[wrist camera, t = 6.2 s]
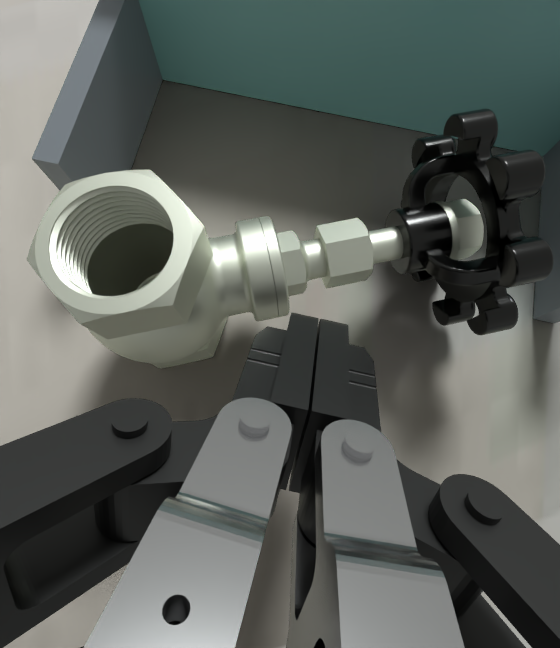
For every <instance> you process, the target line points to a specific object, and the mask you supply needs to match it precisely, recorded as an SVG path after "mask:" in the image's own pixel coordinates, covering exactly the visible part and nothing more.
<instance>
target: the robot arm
mask: <svg viewBox="0 0 560 648" xmlns="http://www.w3.org/2000/svg"><path fill="white" fill-rule="evenodd" d="M291 470H292V471H291ZM290 473H291V478H290V485H289V491H293V492H297V493H300V497H299V506H298V511H297V514H296V518H295V521H294V524H293V533H292V560H291V586H290V613H289V630H288V638H287V644H286V648H526V647H525V646H524V645H523V644H522V643H521V641H520V640H519V639H518V638H517V637H516V635H515V634H514V633H513V632H512V631H511V630H510V629H509V627H508V626H507V625H506V624H505V622H504V621H503V620H502V619H501V618H500V617H499V615H498V614H497V613H496V612H495V611H494V610H493V609H492V607H491V606H490V605H489V604H488V603H487V601H486V600H485V599H484V598H483V597H482V596H481V592H483V591H484V592H485V593H486V595H487V596H488V597H489V598H490V599H491V600H492V601H493V603H494V604H495V605H496V606H497V607H498V609H499V610H500V611H501V612H502V613H503V614H504V615H505V617H506V618H507V619H508V620H509V621H510V623H511V624H512V625H513V626H514V627H515V628H516V629H517V631H518V632H519V633H520V634H521V635H522V636H523V638H524V639H525V640H526V641H527V642H528V643H529V645H530V646H531V647H532V648H560V545H559V544H558V543H557V542H556V541H555V540H554V539H553V538H552V537H551V536H550V535H549V534H548V533H546V532H545V531H544V530H543V529H542V528H541V527H540V526H539V525H538V524H537V523H536V522H535V521H534V520H532V519H531V518H530V517H529V516H528V515H527V514H526V513H525V512H524V511H523V510H522V509H521V508H519V507H518V506H517V505H516V504H515V503H514V502H513V501H512V500H511V499H510V498H509V497H508V496H507V495H505V494H504V493H503V492H502V491H501V490H499V489H498V488H497V487H495V486H494V485H492V484H490V483H489V482H487V481H485V480H483V479H480V478H478V477H475V476H471V475H466V474H457V475H452V476H449V477H448V478H446V479H445V480H444V481H443V483H442V484H441V485H440V484H438V483H436V482H434V481H432V480H430V479H428V478H426V477H424V476H422V475H420V474H418V473H416V472H414V471H412V470H410V469H409V468H407V467H406V466H404V465H403V464H402V463H400V462H399V461H398V460H397V459H396V456H395V452H394V449H393V447H392V445H391V443H390V442H389V440H388V439H387V438H386V437H385V436H384V435H383V434H382V433H381V426H380V417H379V408H378V398H377V389H376V379H375V370H374V361H373V360H372V358H371V357H370V355H369V354H368V352H367V351H366V350H365V348H363V347H359V346H354V345H350V344H349V336H348V325H347V324H342V323H337V322H333V321H328V320H324V319H320V321H319V325H318V318H314V317H310V316H305V315H301V314H296V313H292V312H291V316H290V321H289V325H288V329H287V331H286V330H282V329H277V328H273V327H268V326H267V327H266V328H265V329H263V330H262V331H261V332H259V333H258V334H257V335H256V336H255V339H254V341H253V344H252V347H251V350H250V353H249V355H248V359H247V361H246V364H245V367H244V369H243V372H242V375H241V378H240V380H239V383H238V386H237V389H236V392H235V394H234V397H233V400H232V402H230V403H228V404H227V405H225V406H224V407H223V408H222V409H221V411H220V412H219V414H218V415H216V416H214V417H212V418H209V419H205V420H200V421H180V422H172V420H171V417H170V415H169V413H168V412H167V410H166V409H164V408H163V407H162V406H161V405H159V404H157V403H155V402H153V401H150V400H146V399H137V398H131V399H123V400H118V401H115V402H112V403H109V404H107V405H104V406H102V407H99V408H97V409H94V410H92V411H89V412H86V413H84V414H81V415H79V416H76V417H74V418H71V419H69V420H66V421H63V422H61V423H58V424H56V425H53V426H51V427H48V428H45V429H43V430H40V431H38V432H35V433H33V434H30V435H28V436H25V437H22V438H20V439H17V440H15V441H12V442H10V443H7V444H4V445H2V446H0V648H3V647H4V646H6V645H7V644H9V643H10V642H12V641H13V640H15V639H16V638H18V637H19V636H21V635H22V634H24V633H25V632H27V631H28V630H30V629H31V628H33V627H34V626H36V625H37V624H39V623H40V622H42V621H43V620H45V619H46V618H48V617H49V616H50V615H52V614H53V613H55V612H56V611H58V610H59V609H61V608H62V607H64V606H65V605H67V604H68V603H70V602H71V601H73V600H74V599H76V598H77V597H79V596H80V595H82V594H83V593H85V592H86V591H88V590H89V589H91V588H92V587H94V586H95V585H97V584H98V583H100V582H101V581H103V580H104V579H106V578H107V577H108V576H110V575H111V574H113V573H114V572H116V571H117V570H119V569H120V568H122V567H123V566H125V565H126V564H128V563H129V564H128V566H127V568H126V570H125V572H124V573H123V575H122V577H121V579H120V581H119V583H118V585H117V586H116V588H115V590H114V592H113V594H112V596H111V598H110V600H109V601H108V603H107V605H106V607H105V609H104V611H103V613H102V614H101V616H100V618H99V620H98V622H97V624H96V626H95V628H94V629H93V631H92V633H91V635H90V637H89V639H88V641H87V642H86V644H85V646H83V647H80V648H235V645H236V642H237V638H238V634H239V630H240V626H241V623H242V619H243V615H244V611H245V607H246V603H247V600H248V596H249V592H250V588H251V584H252V581H253V577H254V573H255V569H256V565H257V562H258V558H259V554H260V550H261V546H262V543H263V539H264V535H265V531H266V527H267V523H268V520H269V519H270V517H271V516H272V514H273V512H274V509H275V506H276V502H277V498H278V494H279V491H280V489H283V490H286V487H287V484H288V480H289V477H290Z"/></svg>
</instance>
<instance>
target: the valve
mask: <svg viewBox="0 0 560 648" xmlns="http://www.w3.org/2000/svg"><path fill="white" fill-rule="evenodd" d="M497 134H498V122H497V118H496V115H495V114H494V112H493V111H492V110H490V109H487V108H484V109H479V110H473V111H467V112H462V113H456V114H453V115H451V116H450V117H449V118H448V120H447V121H446V124H445V127H444V131H443V134H442V135H436V136H431V137H425V138H420V139H418V140H416V142H415V143H414V145H413V149H412V163H413V167H414V168H415V169H414V170H413V171H412V172H411V173H410V175H409V177H408V178H407V180H406V182H405V185H404V188H403V194H402V201H401V208H399V209H394V210H392V211H391V212H390V213H389V214H388V216H387V219H386V223H385V228H384V229H379V230H374V231H368V230H367V228H366V226H365V225H364V224H363V222H362V221H361V220H359V219H358V218H354V219H349V220H343V221H338V222H333V223H328V224H323V225H317V226H316V231H315V235H314V239H313V240H308V241H299V239H298V237H297V235H296V234H295V233H294V232H293V231H292V230H291V231H286V232H281V233H276V230H275V227H274V224H273V222H272V220H271V218H270V217H269V216H264V217H259V218H254V219H249V220H243V221H238V222H236V224H235V226H236V232H235V233H234V234H233V235H228V236H222V237H217V238H208V236H207V233H206V230H205V227H204V225H203V224H202V223H201V222H200V221H199V219H198V218H197V217H196V216H195V215H194V214H193V213H192V211H191V210H190V209H189V208H188V207H187V206H186V205H185V204H184V203H183V201H182V200H181V199H180V198H179V197H178V196H177V195H176V194H175V193H174V192H173V191H172V190H171V189H170V188H169V187H168V186H167V185H166V184H165V183H164V182H163V181H162V180H161V179H160V178H159V177H158V176H157V175H156V174H155V173H154V172H152V171H151V170H126V171H117V172H109V173H103V174H99V175H94V176H90V177H86V178H82V179H79V180H76V181H73V182H70V183H68V184H65V185H64V186H63V188H62V189H61V190H60V191H59V193H58V194H57V195H56V197H55V198H54V200H53V201H52V203H51V205H50V206H49V208H48V210H47V211H46V213H45V215H44V216H43V218H42V221H41V223H40V225H39V227H38V230H37V232H36V234H35V236H34V239H33V242H32V244H31V247H30V250H29V254H28V257H27V261H28V262H29V264H30V265H31V266H32V268H33V269H34V270H35V272H36V273H37V274H38V276H39V277H40V278H41V279H42V281H43V282H44V283H45V284H46V286H47V287H48V288H49V289H50V290H51V292H52V293H53V294H54V295H55V296H56V297H57V299H58V300H59V301H60V302H61V303H62V304H63V306H64V307H65V308H66V309H67V310H68V311H69V312H70V313H71V315H72V316H73V317H74V318H75V319H76V320H77V321H78V322H79V323H80V324H81V325H83V326H85V327H86V328H88V329H89V331H90V332H91V333H92V335H93V336H94V337H95V338H96V339H97V340H98V341H99V342H101V343H102V344H103V345H104V346H105V347H106V348H108V349H110V350H111V351H113V352H115V353H116V354H118V355H120V356H123V357H125V358H128V359H130V360H134V361H139V362H144V363H151V364H152V365H154V366H156V367H158V368H166V367H172V366H176V365H181V364H186V363H190V362H195V361H200V360H204V359H208V358H212V357H213V356H214V354H215V351H216V349H217V346H218V343H219V340H220V338H221V335H222V332H223V329H224V326H225V324H226V321H227V318H228V316H232V315H237V314H242V313H246V312H251V313H253V314H254V318H255V320H256V321H263V320H268V319H272V318H277V317H282V316H286V315H288V313H289V296H292V295H297V294H302V293H303V292H304V291H305V290H306V288H307V282H308V281H309V280H311V279H316V278H322V280H323V283H324V285H325V287H326V288H331V287H336V286H341V285H345V284H350V283H355V282H360V281H365V280H366V279H367V278H368V277H369V276H370V275H371V273H372V271H373V265H374V264H377V263H381V262H386V261H390V262H391V264H392V266H393V267H394V269H395V270H396V271H397V272H398V273H400V274H408V273H411V275H412V277H413V279H414V280H415V281H417V282H420V281H425V280H430V279H436V281H437V283H438V284H439V285H440V287H441V288H442V289H443V290H444V291H445V292H446V295H445V299H444V300H439V301H434V302H433V303H432V306H433V312H434V315H435V318H436V320H437V321H438V322H439V323H440V324H441V325H443V326H446V325H450V324H455V323H459V322H464V321H467V323H468V325H469V327H470V329H471V330H472V331H473V332H474V333H475V334H477V335H485V334H490V333H494V332H499V331H503V330H508V329H511V328H513V327H514V326H515V325H516V323H517V321H518V308H517V305H516V303H515V301H514V299H513V298H512V297H511V296H510V295H509V294H507V292H506V288H509V287H514V286H519V285H523V284H528V283H533V282H537V281H541V280H544V279H545V278H547V277H548V276H549V275H550V273H551V271H552V269H553V265H554V257H553V252H552V250H551V247H550V246H549V244H548V243H547V242H546V241H545V240H543V239H541V238H539V237H531V238H528V237H526V236H524V234H523V233H522V230H521V225H520V216H519V206H520V203H521V201H522V200H523V199H525V198H528V197H531V196H533V195H535V194H536V193H537V192H538V191H539V190H540V189H541V187H542V185H543V182H544V179H545V164H544V161H543V158H542V157H541V155H540V154H539V153H538V152H536V151H534V150H522V151H517V152H512V153H506V154H501V155H495V156H492V155H491V148H492V147H493V145H494V144H495V141H496V138H497ZM451 136H454V137H457V138H458V148H457V151H456V147H455V143H454V140H453V138H452V137H451ZM458 176H462V177H464V178H465V179H466V180H467V181H469V183H470V184H471V185H472V186H473V188H474V189H475V190H476V193H477V195H478V197H479V199H480V201H481V203H482V207H483V210H484V214H485V218H486V224H487V249H486V256H485V258H481V259H476V260H471V261H457V260H460V259H465V258H468V257H470V256H471V255H473V254H474V253H475V252H477V251H478V250H479V249H480V247H481V246H482V243H483V234H484V225H483V221H482V217H481V214H480V212H479V210H478V209H477V208H476V207H475V206H474V205H473V204H472V203H471V202H469V201H467V200H466V199H461V200H456V201H451V202H445V201H446V197H447V194H448V191H449V189H450V186H451V185H452V183H453V181H454V180H455V179H456V178H457V177H458ZM475 303H476V305H477V307H478V310H479V315H478V316H477V317H474V318H473V316H474V314H475Z"/></svg>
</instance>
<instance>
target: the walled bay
mask: <svg viewBox="0 0 560 648" xmlns="http://www.w3.org/2000/svg"><path fill="white" fill-rule="evenodd" d="M162 80H167V81H172V82H177V83H182V84H187V85H192V86H197V87H202V88H207V89H212V90H217V91H222V92H227V93H232V94H237V95H242V96H247V97H252V98H257V99H262V100H267V101H272V102H276V103H281V104H286V105H291V106H296V107H301V108H306V109H311V110H316V111H321V112H326V113H331V114H336V115H341V116H346V117H351V118H356V119H361V120H366V121H371V122H376V123H381V124H386V125H391V126H396V127H401V128H406V129H411V130H416V131H421V132H426V133H431V134H436V135H442V134H443V131H444V127H445V124H446V121H447V120H448V118H449V117H450V116H451V115H453V114H456V113H462V112H467V111H473V110H479V109H484V108H487V109H490V110H492V111H493V112H494V114H495V115H496V118H497V122H498V134H497V138H496V141H495V144H494V145H493V146H495V147H500V148H505V149H510V150H515V151H522V150H534V151H536V152H538V153H539V154H540V155H541V156H543V161H544V164H545V179H544V182H543V185H542V187H541V203H540V218H539V234H538V237H539V238H541V239H543V240H545V241H546V242H547V243H548V244H549V246H550V247H551V250H552V252H553V257H554V265H553V269H552V271H551V273H550V275H549V276H548V277H547V278H545V279H544V280H541V281H537V282H535V297H534V313H533V319H537V320H541V321H546V322H551V323H557V322H559V321H560V0H99V2H98V4H97V7H96V9H95V12H94V14H93V16H92V19H91V21H90V23H89V26H88V28H87V30H86V33H85V35H84V37H83V40H82V42H81V44H80V47H79V49H78V51H77V54H76V56H75V58H74V61H73V63H72V65H71V68H70V70H69V72H68V75H67V77H66V79H65V82H64V84H63V87H62V89H61V91H60V94H59V96H58V98H57V101H56V103H55V105H54V108H53V110H52V112H51V115H50V117H49V119H48V122H47V124H46V126H45V129H44V131H43V133H42V136H41V138H40V140H39V143H38V145H37V147H36V150H35V152H34V154H33V157H32V159H33V161H34V162H35V163H36V164H37V165H38V166H39V167H40V168H41V170H42V171H43V172H44V173H45V174H46V175H47V176H48V178H49V179H50V180H51V181H52V182H53V183H54V184H55V185H56V187H57V188H58V189H59V190H61V189H62V188H63V186H64V185H65V184H68V183H70V182H73V181H76V180H79V179H82V178H86V177H90V176H94V175H99V174H103V173H109V172H117V171H126V170H131V168H132V165H133V162H134V160H135V157H136V154H137V151H138V148H139V145H140V143H141V140H142V137H143V134H144V131H145V128H146V126H147V123H148V120H149V117H150V114H151V111H152V109H153V106H154V103H155V100H156V97H157V94H158V92H159V89H160V86H161V83H162ZM451 137H452V138H456V139H458V138H457V137H454V136H451Z"/></svg>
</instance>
